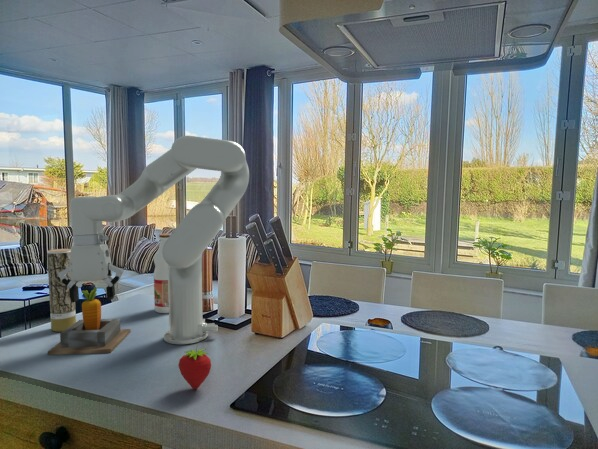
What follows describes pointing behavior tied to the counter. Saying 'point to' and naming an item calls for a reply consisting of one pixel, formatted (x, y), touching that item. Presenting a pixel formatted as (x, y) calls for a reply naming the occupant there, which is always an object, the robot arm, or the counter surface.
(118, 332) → the docking stand
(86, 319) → the carrot
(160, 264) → the fruit juice
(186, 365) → the strawberry
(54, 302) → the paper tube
